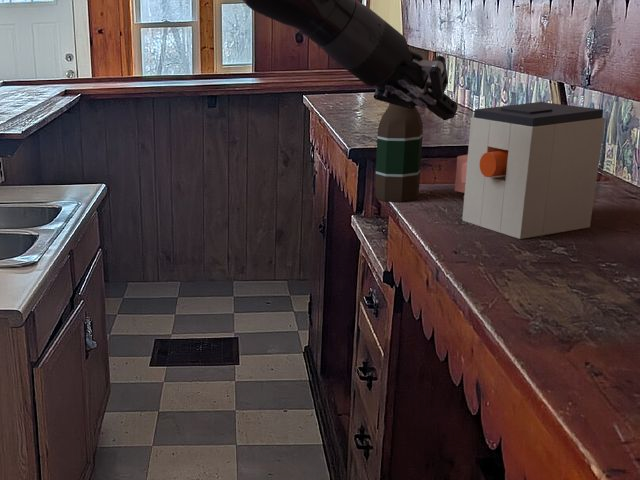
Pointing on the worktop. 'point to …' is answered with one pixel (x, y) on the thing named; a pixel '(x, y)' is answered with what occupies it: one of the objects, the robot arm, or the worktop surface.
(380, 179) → the beer bottle
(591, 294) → the worktop surface
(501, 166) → the power button
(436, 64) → the robot arm
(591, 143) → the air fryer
